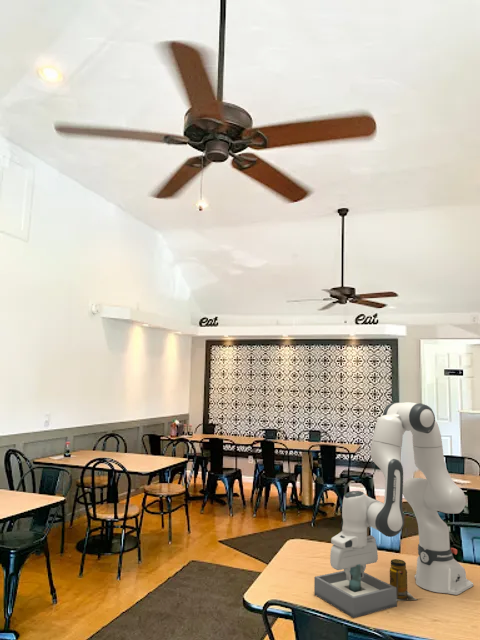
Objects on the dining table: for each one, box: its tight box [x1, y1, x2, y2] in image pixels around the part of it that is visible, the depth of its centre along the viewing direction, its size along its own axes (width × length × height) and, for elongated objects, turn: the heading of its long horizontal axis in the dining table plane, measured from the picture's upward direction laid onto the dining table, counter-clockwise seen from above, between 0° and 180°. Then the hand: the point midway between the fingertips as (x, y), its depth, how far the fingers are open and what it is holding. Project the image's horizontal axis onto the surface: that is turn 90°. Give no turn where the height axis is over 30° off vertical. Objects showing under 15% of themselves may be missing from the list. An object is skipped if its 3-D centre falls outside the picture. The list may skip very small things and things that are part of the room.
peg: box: [349, 564, 361, 592], centre depth 169 cm, size 4×4×10 cm
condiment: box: [389, 558, 418, 602], centre depth 171 cm, size 7×8×12 cm
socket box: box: [313, 570, 398, 619], centre depth 166 cm, size 20×20×6 cm
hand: (354, 578), depth 169 cm, fingers closed on peg, 4 cm apart
